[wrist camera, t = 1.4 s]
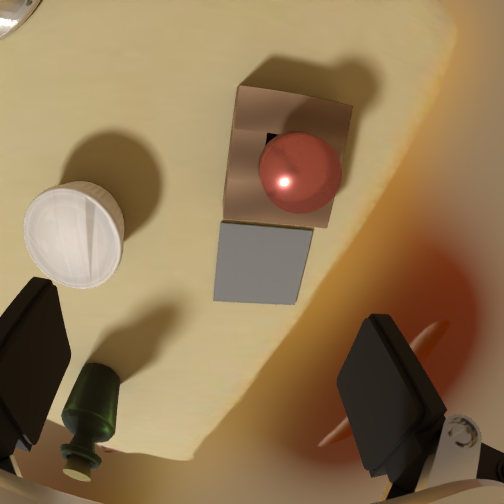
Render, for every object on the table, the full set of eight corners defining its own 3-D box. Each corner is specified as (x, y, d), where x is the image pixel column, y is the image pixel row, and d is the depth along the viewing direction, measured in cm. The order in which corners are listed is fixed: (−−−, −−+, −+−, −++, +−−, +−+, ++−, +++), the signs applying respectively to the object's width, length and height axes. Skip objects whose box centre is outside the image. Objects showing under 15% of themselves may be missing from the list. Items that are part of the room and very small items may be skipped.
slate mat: (220, 222, 33) (220, 223, 33) (311, 230, 35) (312, 231, 35) (213, 299, 38) (213, 300, 38) (294, 303, 39) (294, 304, 39)
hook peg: (253, 119, 29) (268, 128, 21) (313, 128, 30) (348, 142, 22) (245, 177, 31) (256, 209, 23) (303, 184, 32) (332, 217, 24)
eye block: (237, 86, 27) (239, 85, 24) (337, 103, 29) (352, 106, 25) (222, 204, 33) (223, 218, 29) (315, 213, 34) (327, 228, 31)
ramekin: (151, 243, 34) (141, 268, 29) (77, 277, 35) (61, 303, 30) (102, 153, 29) (83, 165, 24) (30, 200, 30) (6, 218, 25)
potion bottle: (76, 382, 44) (50, 473, 28) (77, 351, 40) (43, 454, 25) (121, 396, 46) (105, 491, 30) (128, 368, 43) (108, 475, 27)
